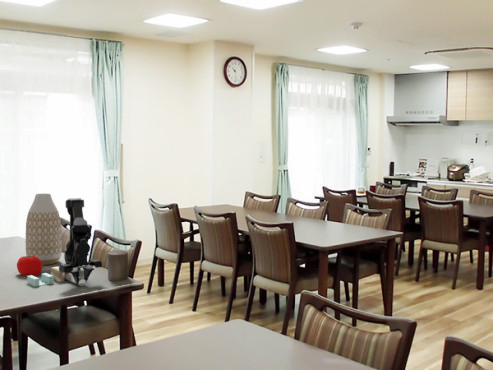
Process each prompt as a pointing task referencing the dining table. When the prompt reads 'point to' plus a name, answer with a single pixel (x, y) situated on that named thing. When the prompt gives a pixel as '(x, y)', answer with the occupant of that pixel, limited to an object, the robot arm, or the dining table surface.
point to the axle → (70, 277)
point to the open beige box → (58, 274)
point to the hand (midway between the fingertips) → (81, 284)
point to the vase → (44, 230)
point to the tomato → (29, 265)
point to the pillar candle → (117, 265)
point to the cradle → (45, 280)
